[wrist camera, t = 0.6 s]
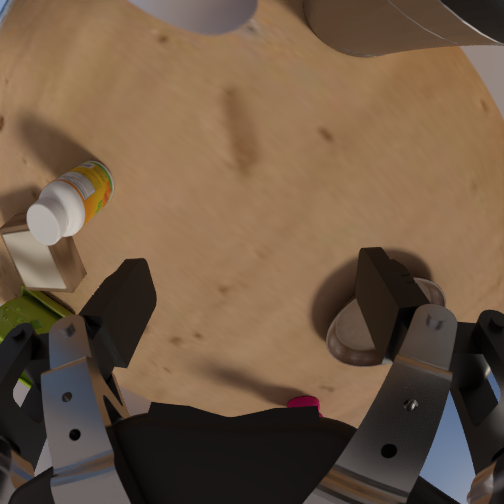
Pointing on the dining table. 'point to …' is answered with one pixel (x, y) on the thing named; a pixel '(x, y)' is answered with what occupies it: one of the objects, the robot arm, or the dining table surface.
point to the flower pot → (30, 316)
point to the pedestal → (42, 258)
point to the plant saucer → (365, 329)
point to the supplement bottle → (70, 202)
